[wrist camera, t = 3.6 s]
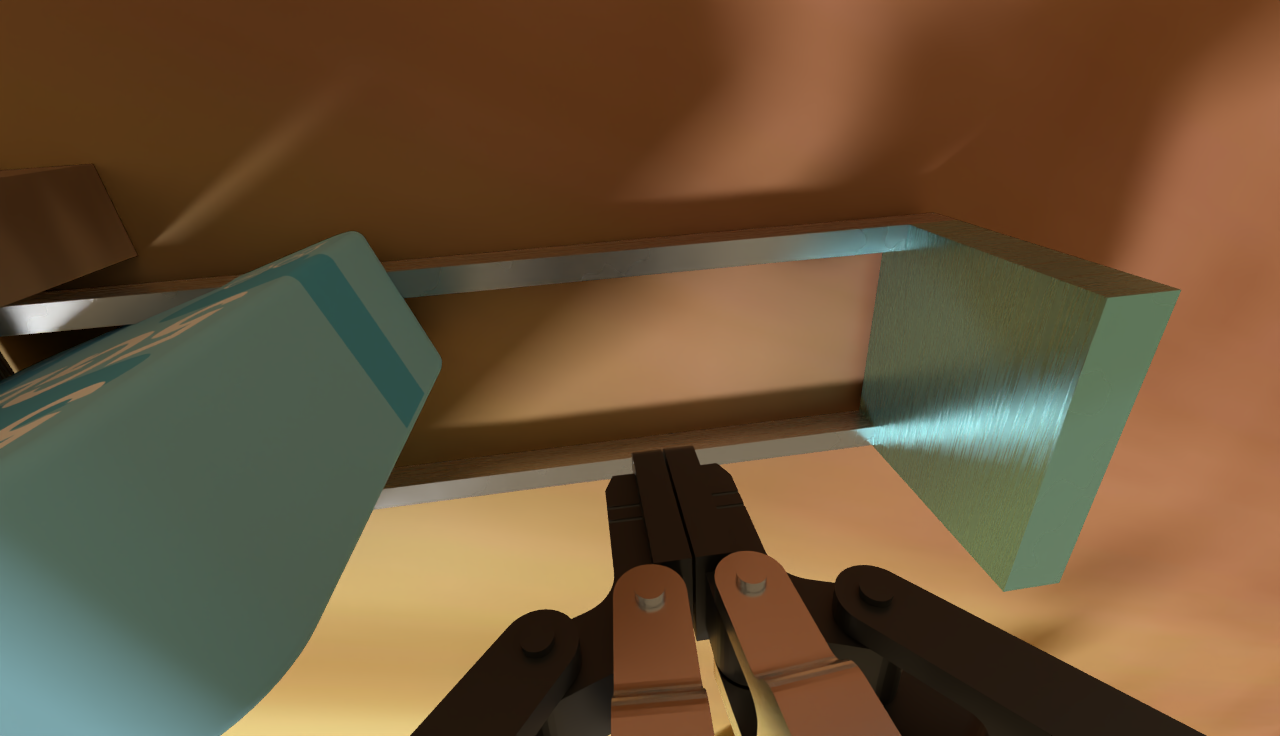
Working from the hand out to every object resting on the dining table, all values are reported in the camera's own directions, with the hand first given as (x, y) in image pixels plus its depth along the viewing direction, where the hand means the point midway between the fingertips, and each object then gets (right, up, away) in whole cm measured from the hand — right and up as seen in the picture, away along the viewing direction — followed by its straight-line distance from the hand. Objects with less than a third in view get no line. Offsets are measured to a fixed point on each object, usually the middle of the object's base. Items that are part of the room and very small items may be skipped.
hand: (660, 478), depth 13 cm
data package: (-13, +3, +4) cm, 14 cm away
